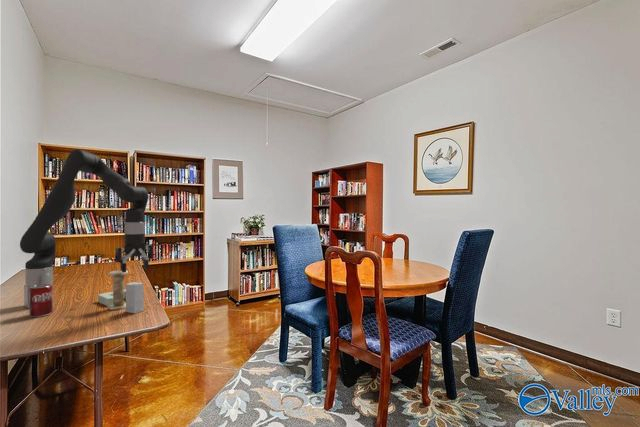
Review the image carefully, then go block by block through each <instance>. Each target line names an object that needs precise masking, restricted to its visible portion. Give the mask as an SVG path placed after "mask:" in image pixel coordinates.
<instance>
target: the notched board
mask: <svg viewBox="0 0 640 427" xmlns="http://www.w3.org/2000/svg"><path fill="white" fill-rule="evenodd" d="M124 300H126V288H124ZM97 302H98V303H100V304H101V305H104V306H106V307H108V308H109V306H110V305H113V291H110V292H103V293H99V294H97Z"/></svg>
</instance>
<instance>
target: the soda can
mask: <svg viewBox="0 0 640 427" xmlns="http://www.w3.org/2000/svg"><path fill="white" fill-rule="evenodd" d="M53 301H54V284H53V285H52V284H41V285H35V286H31V287H30V288H29V308H28V310H29V311H28V312H29V313H28V314H29V315H28V316H29V317H30V318H41V317H47V316H49V315H51V314H52V313H53V312H54V302H53Z"/></svg>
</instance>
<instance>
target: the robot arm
mask: <svg viewBox="0 0 640 427" xmlns="http://www.w3.org/2000/svg"><path fill="white" fill-rule="evenodd" d="M79 172H81V173H82V172H83V173H87V174H92V175H94V176H97V177H98V178H100V179H101V181H102V183H103V184H104V185H105V186H106V187H108V188H109V189H111V190H112V191H114V192H115V194H116V195H117V196H118V197H119V198H120V200H121V201H123V202H126V203H133V204H132V207H130V208H127V209H125V212H124V247H116V248H115V255H114V256H115V258H114V259H115V260H114V261H115V262H116V263H119V264H120V270H121V271H122V272H126V270H127V261H128V260H129V259H130V258H131V257H132V258H135V257H141V258H142V259H143V260H142V262H143V264H142V266H143V267H142V268H143V270H147V269H148V268H149V267H150V266H149V265H150V264H149V260H152V259H154V249H153V245H152V244H147V245H146V228H145V211H146V208H147V204H148V200H149V192H148V190H147V189H146V188H145V187H144V186H134V185H131V182H130V181H129V180H128V179H127V178H126V177H124V176H123V175H121V174H119V173H118V172H116V171H115V170H113V169H112V168H110V166H108V165H107V163H105V162H104V161H103V160H102V159H101V158H100V157H99V156H98V155H96V154H94V153H93V152H89V151H86V150H83V149H79V148H77V149H73V150H72V151H70V153H69V154H68V155H67V157H66V160H65V161H64V165H63V166H62V169H61V172H60V174H59V176H58V178H57V180H56V182H55V184H54V185H53V187H52V189H51V190H50V192H49V194H48V195H47V197H46V199H45V201H44V203H43V205H42V206H41V208H40V210H39V212H38V213H37V214H36V217H35V218H34V220H33V221H32V223H31V224H30V226H28V228H27V230H26V231H25V232H24V233H23V235H22V236H21V239H20V242H19V247H20V250H21V251H22V252H23V253H25V254H33V256H32V258H30V259H28V260H27V261H26V262H25V264H24V268H25V274H24V275H25V279H24V280H25V284H24V285H23V306H24V307H25V308H26V309H28V310H29V288H30V287H31V286H35V285H41V284H52V285H53V286H54V276H53V275H54V266H53V264H54V261H55V259H56V249H57V248H56V247H57V240H56V237H55V236H54V234H53V233H52V232H49V230H50V229H51V228H53V226H54V225H55V224H57V223H58V222H59V221H61V220H62V219H63V218H64V217H65V216H67V214H68V213H69V212H70V210H71V209H72V207H73V205H74V203H75V201H76V190H75V189H76V188H75V179H76V178H77V175H78V174H79ZM145 250H146V251H147V254H146V253H145ZM123 252H124V254H123V255H122V253H123Z"/></svg>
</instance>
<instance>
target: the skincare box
mask: <svg viewBox="0 0 640 427" xmlns="http://www.w3.org/2000/svg"><path fill="white" fill-rule="evenodd" d="M144 286H145V284H144V283H142V282H141V283H140V282H137V281H135V282H129V283H126V284H125V289H126V298H125V303H126V308H125V312H126V313H131V314H138V313H141V312H144V309H145V308H144V307H145V306H144V301H145V300H144V297H145V296H144V290H145V289H144Z"/></svg>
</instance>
